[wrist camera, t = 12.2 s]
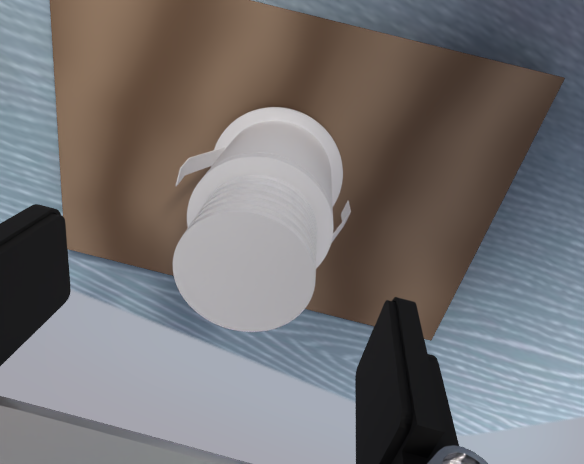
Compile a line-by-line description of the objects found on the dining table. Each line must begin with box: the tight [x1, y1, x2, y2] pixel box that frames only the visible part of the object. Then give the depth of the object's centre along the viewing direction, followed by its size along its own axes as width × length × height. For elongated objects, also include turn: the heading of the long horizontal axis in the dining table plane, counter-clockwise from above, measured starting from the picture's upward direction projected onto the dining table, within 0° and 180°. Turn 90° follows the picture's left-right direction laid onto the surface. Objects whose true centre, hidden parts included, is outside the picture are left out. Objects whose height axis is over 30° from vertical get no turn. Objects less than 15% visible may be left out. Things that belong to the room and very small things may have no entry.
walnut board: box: [50, 0, 565, 340], centre depth 22 cm, size 24×16×2 cm, turn 78°
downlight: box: [173, 107, 351, 332], centre depth 17 cm, size 8×7×10 cm
